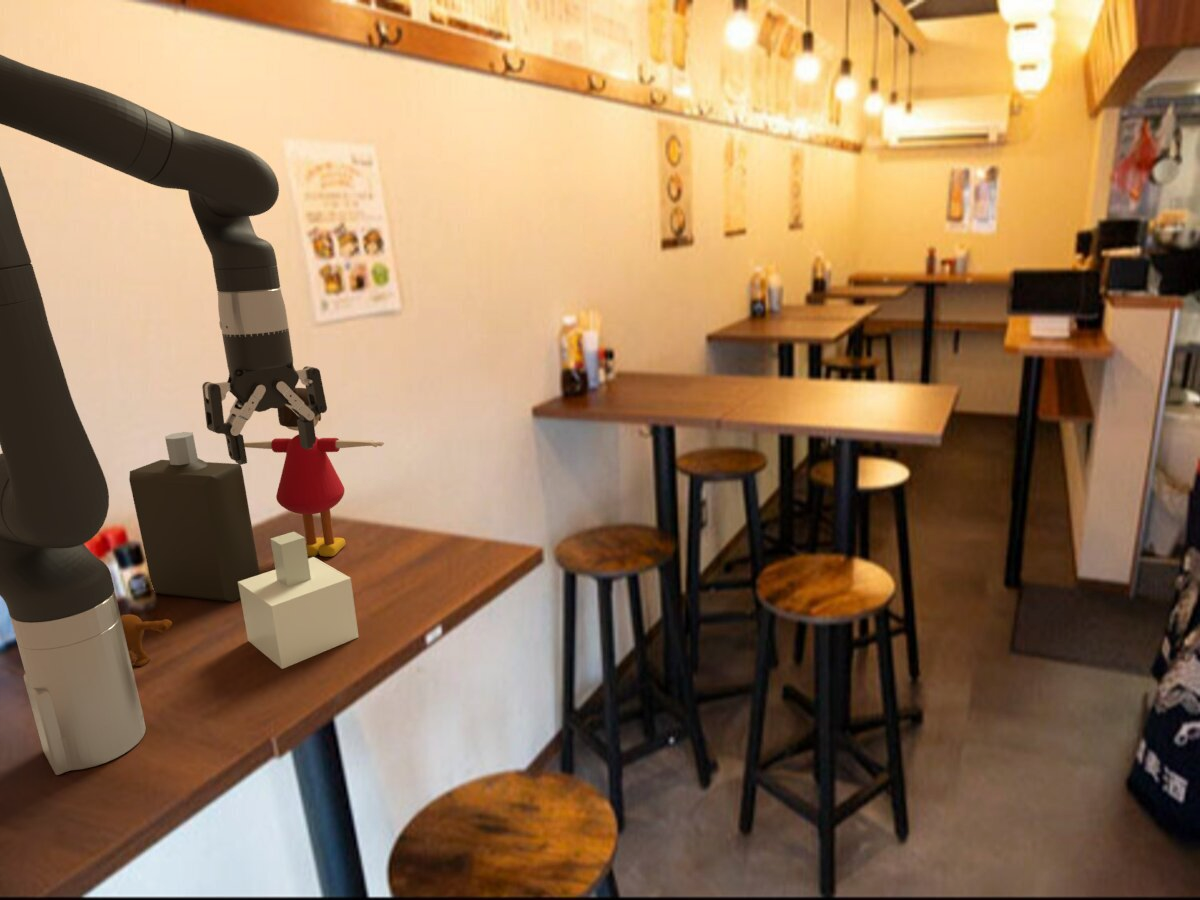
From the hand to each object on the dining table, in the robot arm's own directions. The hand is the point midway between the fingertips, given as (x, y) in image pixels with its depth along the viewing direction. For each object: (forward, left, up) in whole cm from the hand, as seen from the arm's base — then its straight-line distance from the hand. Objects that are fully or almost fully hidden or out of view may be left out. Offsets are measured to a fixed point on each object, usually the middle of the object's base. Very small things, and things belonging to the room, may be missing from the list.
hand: (275, 455), depth 102 cm
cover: (0, 0, -26) cm, 26 cm away
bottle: (-3, +27, -26) cm, 38 cm away
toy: (+15, +26, -26) cm, 40 cm away
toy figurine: (-18, +11, -26) cm, 34 cm away
